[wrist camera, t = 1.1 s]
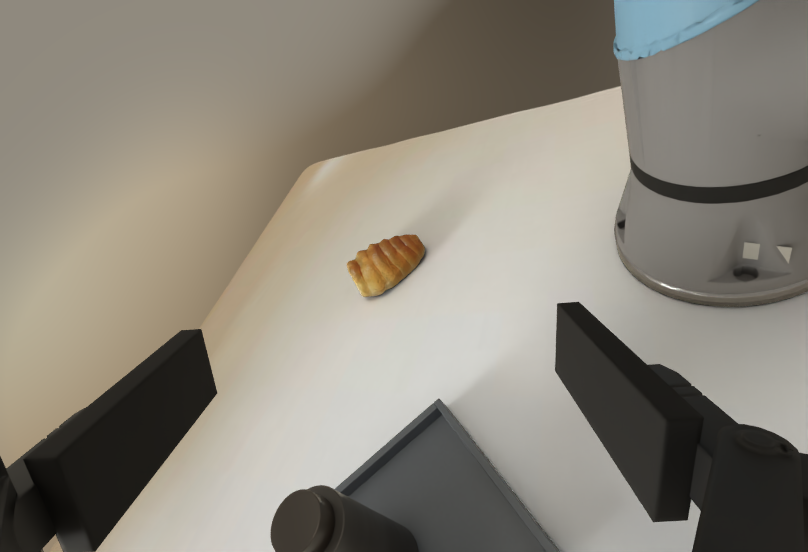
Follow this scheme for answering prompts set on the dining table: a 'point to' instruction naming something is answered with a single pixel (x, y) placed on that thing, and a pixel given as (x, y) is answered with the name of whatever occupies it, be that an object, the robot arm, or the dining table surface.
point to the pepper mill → (335, 525)
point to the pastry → (385, 264)
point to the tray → (445, 491)
